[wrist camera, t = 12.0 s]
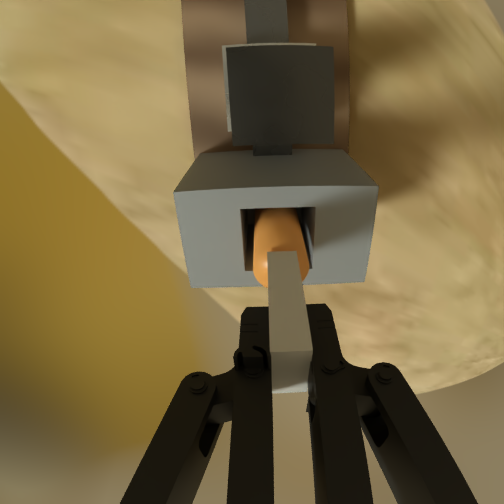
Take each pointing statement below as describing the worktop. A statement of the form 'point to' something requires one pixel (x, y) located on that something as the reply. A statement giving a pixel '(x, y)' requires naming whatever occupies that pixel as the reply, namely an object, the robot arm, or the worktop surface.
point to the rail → (267, 31)
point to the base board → (234, 32)
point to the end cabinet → (275, 196)
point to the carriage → (279, 93)
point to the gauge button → (277, 239)
